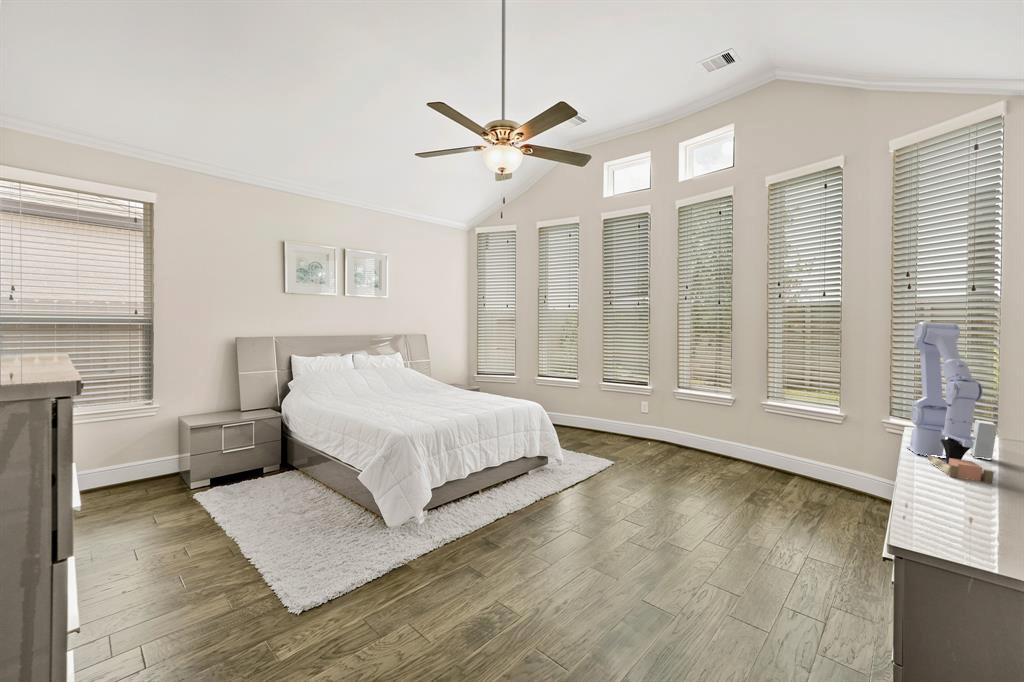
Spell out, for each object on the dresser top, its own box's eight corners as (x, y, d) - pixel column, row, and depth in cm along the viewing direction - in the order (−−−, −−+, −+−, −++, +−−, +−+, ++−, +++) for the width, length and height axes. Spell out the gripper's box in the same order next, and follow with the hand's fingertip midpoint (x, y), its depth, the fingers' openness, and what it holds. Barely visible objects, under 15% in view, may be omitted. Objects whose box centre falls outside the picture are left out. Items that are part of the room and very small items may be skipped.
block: (947, 471, 131) (949, 457, 131) (970, 474, 129) (972, 461, 129) (956, 477, 126) (958, 463, 126) (980, 481, 124) (982, 467, 124)
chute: (927, 461, 139) (928, 451, 139) (964, 466, 136) (965, 456, 136) (950, 476, 126) (951, 465, 126) (992, 483, 122) (993, 472, 122)
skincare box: (992, 461, 143) (997, 425, 142) (973, 458, 146) (978, 422, 145) (987, 457, 148) (992, 421, 147) (969, 453, 151) (974, 419, 150)
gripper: (990, 428, 124) (983, 475, 126) (964, 417, 138) (958, 460, 139) (957, 424, 127) (950, 469, 128) (934, 414, 140) (929, 455, 142)
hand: (952, 464), depth 134 cm, fingers closed
